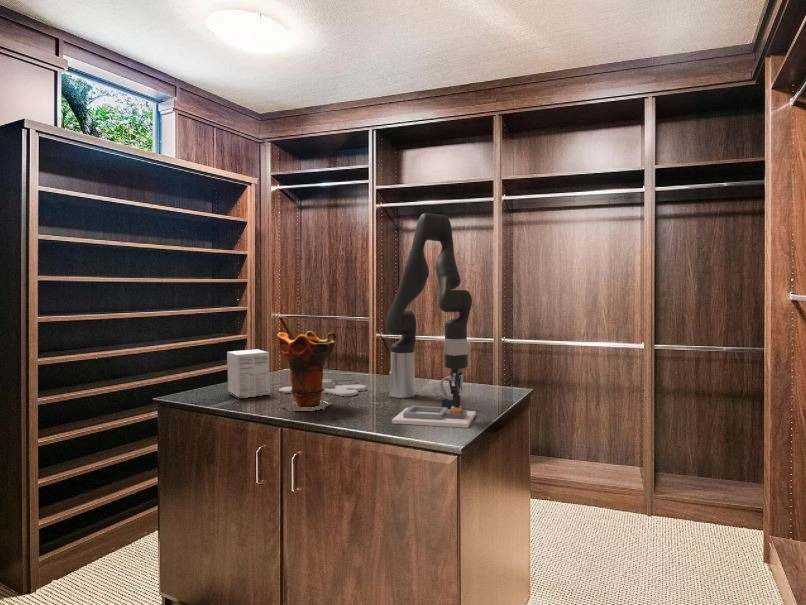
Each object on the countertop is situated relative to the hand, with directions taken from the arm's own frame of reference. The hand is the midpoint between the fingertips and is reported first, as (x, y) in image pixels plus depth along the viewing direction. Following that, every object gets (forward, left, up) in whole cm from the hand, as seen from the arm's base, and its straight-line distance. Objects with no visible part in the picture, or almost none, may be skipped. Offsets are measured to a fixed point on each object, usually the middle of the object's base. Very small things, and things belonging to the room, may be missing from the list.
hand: (456, 406), depth 179 cm
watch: (-5, +17, -5) cm, 18 cm away
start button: (0, 0, -2) cm, 2 cm away
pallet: (-7, 0, -4) cm, 8 cm away
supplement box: (-88, +22, -5) cm, 91 cm away
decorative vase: (-56, +8, -5) cm, 57 cm away
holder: (-62, +36, -5) cm, 72 cm away
